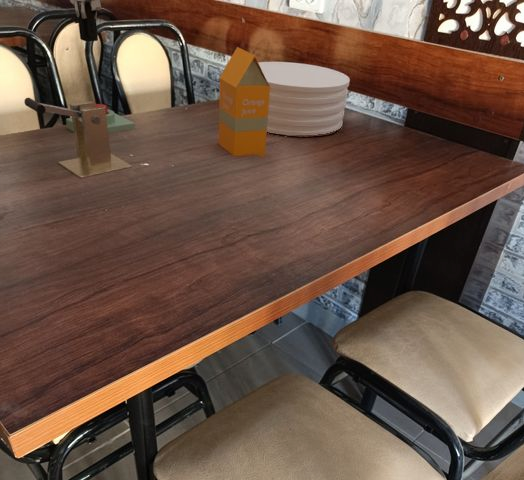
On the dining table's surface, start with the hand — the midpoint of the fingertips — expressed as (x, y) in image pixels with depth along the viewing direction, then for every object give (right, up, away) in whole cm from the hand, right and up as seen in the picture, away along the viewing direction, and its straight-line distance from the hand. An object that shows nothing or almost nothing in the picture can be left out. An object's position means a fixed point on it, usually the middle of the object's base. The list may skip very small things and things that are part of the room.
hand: (89, 40), depth 106 cm
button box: (-1, -14, +12) cm, 18 cm away
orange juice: (+32, -21, +8) cm, 39 cm away
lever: (+1, -24, -16) cm, 29 cm away
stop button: (-1, -11, +10) cm, 15 cm away
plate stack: (+44, -4, +30) cm, 53 cm away
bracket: (+4, -30, -7) cm, 31 cm away
